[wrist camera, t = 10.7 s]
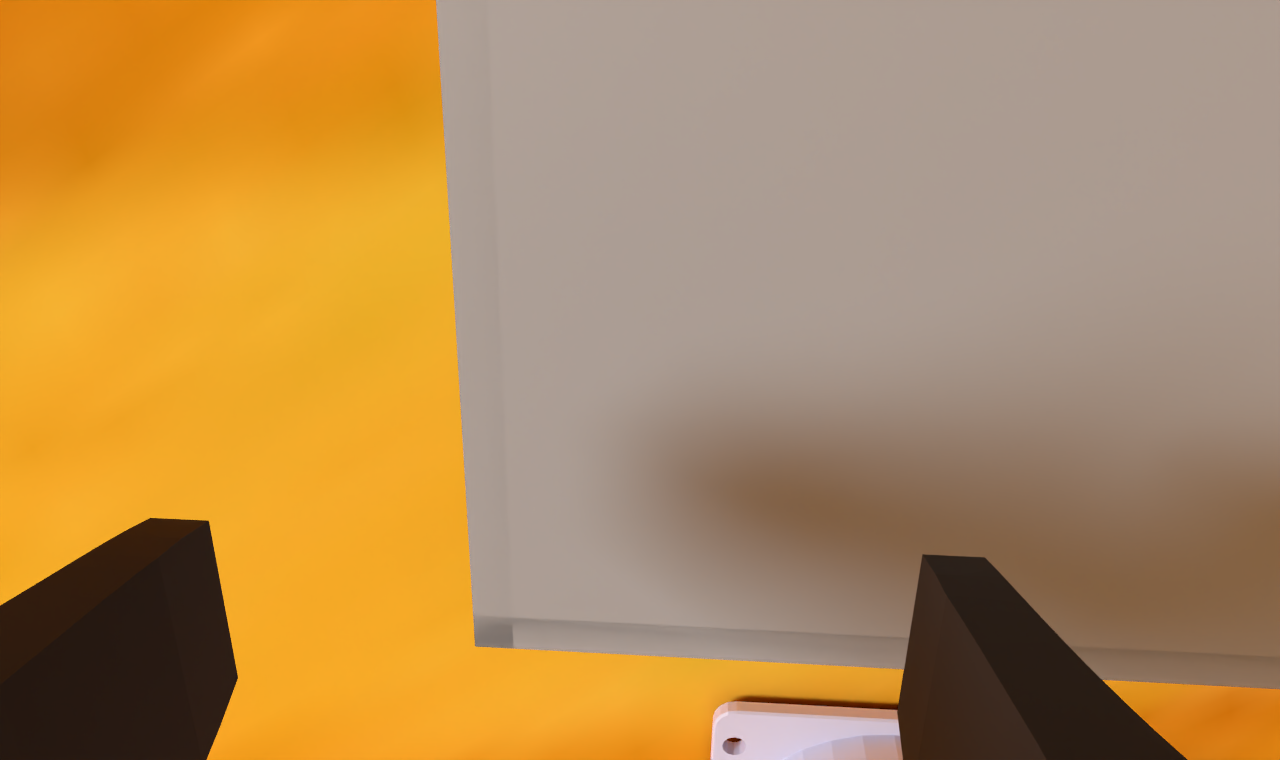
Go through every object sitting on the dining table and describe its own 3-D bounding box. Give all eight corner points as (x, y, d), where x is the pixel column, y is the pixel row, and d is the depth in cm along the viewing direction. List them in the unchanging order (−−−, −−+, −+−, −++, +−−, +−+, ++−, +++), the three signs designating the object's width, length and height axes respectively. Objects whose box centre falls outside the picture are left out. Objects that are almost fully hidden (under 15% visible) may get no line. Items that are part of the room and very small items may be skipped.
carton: (1335, 490, 22) (1541, 702, 16) (532, 454, 22) (475, 646, 17) (1656, -439, 15) (2181, -600, 10) (505, -448, 16) (399, -602, 10)
